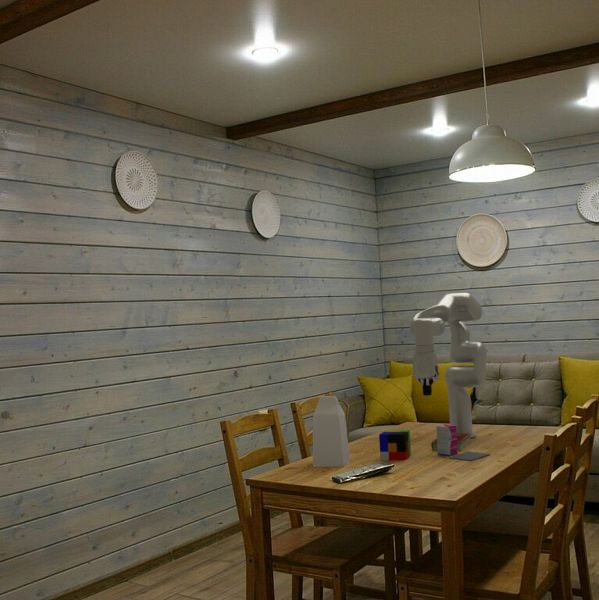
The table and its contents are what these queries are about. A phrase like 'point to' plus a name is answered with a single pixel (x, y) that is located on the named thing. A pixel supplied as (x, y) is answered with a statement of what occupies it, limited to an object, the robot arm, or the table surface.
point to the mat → (469, 456)
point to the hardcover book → (461, 441)
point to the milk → (329, 434)
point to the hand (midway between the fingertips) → (427, 395)
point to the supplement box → (446, 440)
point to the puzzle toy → (395, 445)
